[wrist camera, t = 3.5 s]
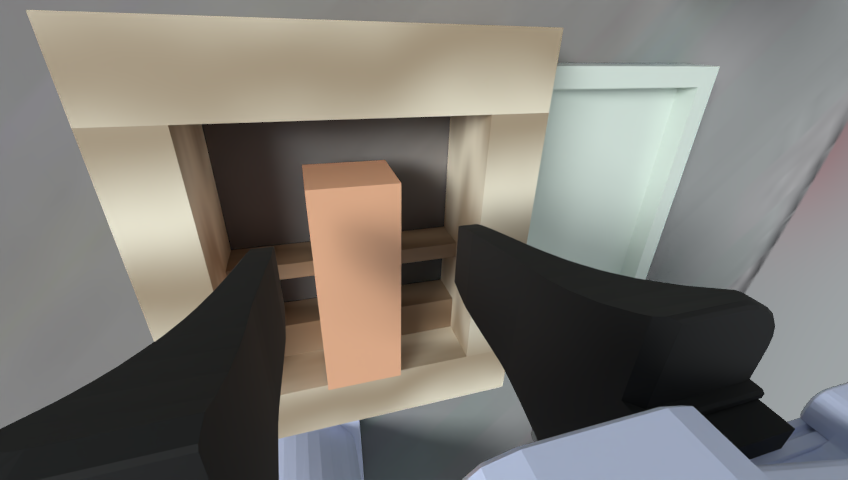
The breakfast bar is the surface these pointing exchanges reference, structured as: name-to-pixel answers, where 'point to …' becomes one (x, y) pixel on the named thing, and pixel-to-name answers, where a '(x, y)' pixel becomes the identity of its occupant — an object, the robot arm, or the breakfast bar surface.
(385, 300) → the slab
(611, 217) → the tray
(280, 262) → the block
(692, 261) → the breakfast bar surface
